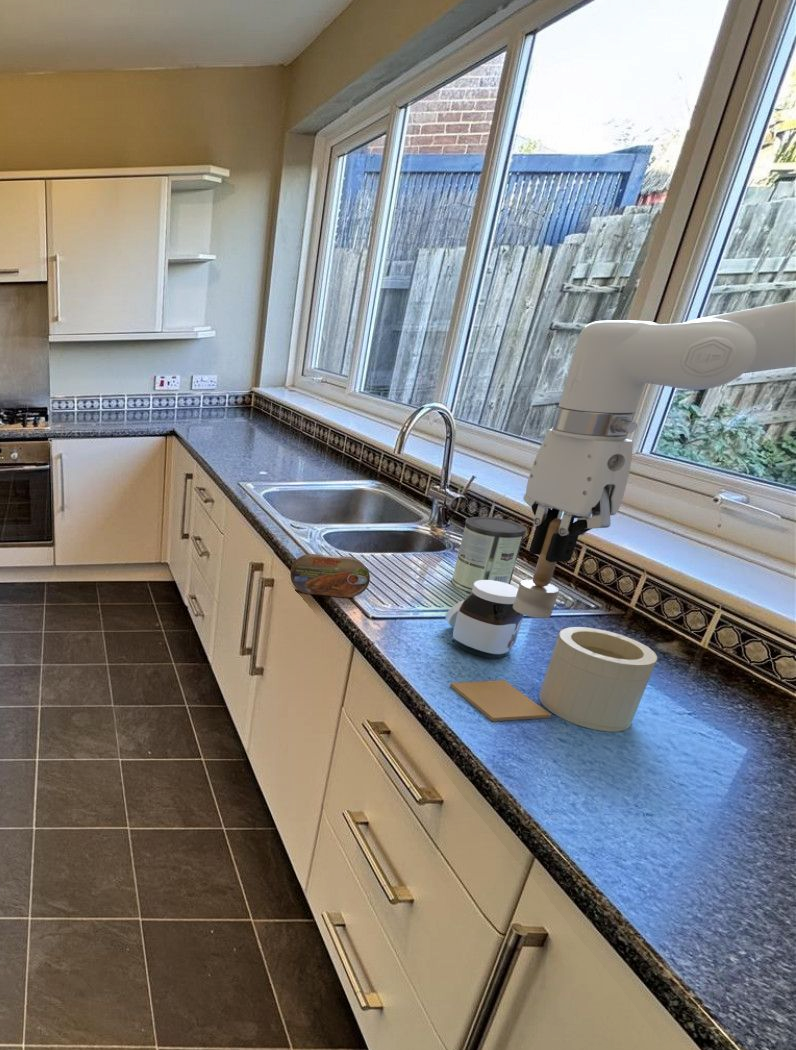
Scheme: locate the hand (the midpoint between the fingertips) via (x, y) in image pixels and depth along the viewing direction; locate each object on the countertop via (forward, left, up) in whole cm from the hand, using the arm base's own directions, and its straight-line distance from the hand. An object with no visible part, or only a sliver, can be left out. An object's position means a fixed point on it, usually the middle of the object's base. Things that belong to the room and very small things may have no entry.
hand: (549, 556), depth 85 cm
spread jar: (-8, -17, -24) cm, 31 cm away
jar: (-10, +3, -24) cm, 26 cm away
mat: (+1, 0, -24) cm, 24 cm away
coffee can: (-26, -39, -24) cm, 53 cm away
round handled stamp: (0, 0, -9) cm, 9 cm away
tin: (+8, -39, -24) cm, 47 cm away
